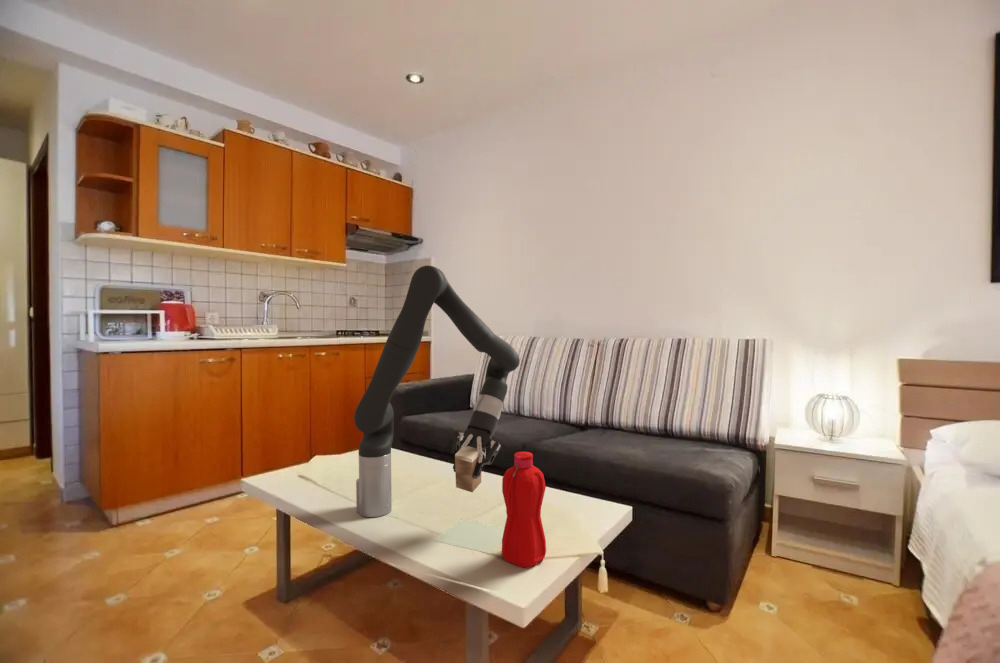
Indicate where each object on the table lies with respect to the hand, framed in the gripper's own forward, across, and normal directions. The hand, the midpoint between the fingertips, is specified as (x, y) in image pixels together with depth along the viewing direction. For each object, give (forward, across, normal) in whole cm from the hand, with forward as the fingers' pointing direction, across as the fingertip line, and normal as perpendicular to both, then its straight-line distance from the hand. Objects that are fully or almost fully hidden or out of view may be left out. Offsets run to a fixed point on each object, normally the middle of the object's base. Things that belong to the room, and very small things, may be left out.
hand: (465, 474), depth 120 cm
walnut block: (+2, 0, +4) cm, 5 cm away
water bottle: (+15, +20, +2) cm, 25 cm away
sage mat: (+13, +5, +8) cm, 16 cm away
